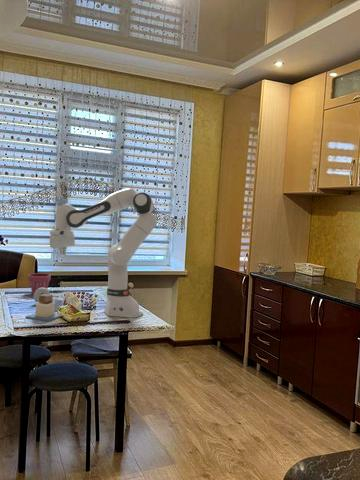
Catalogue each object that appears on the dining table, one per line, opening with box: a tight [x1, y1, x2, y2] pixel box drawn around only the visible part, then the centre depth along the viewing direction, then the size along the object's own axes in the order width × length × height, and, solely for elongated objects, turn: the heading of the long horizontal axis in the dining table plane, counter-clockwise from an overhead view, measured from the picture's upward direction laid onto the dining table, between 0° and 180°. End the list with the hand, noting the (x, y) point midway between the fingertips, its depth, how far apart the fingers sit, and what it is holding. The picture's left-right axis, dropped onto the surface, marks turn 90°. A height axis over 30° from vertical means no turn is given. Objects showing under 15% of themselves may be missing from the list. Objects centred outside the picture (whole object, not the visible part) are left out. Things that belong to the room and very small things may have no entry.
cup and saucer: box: [25, 301, 61, 323], centre depth 239 cm, size 14×14×8 cm
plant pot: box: [27, 272, 52, 295], centre depth 298 cm, size 14×14×13 cm
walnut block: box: [39, 293, 54, 304], centre depth 239 cm, size 5×5×5 cm
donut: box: [33, 288, 51, 303], centre depth 269 cm, size 10×4×10 cm, turn 128°
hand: (62, 254), depth 264 cm, fingers closed
